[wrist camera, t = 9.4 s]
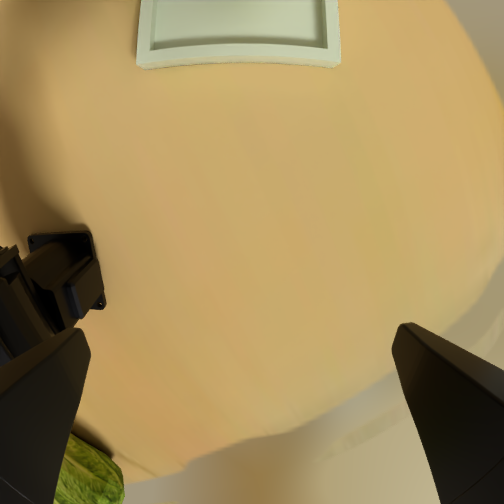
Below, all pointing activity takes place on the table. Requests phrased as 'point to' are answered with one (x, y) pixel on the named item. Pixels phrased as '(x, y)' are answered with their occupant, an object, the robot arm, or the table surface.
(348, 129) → the table surface
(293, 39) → the dish
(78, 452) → the lettuce
